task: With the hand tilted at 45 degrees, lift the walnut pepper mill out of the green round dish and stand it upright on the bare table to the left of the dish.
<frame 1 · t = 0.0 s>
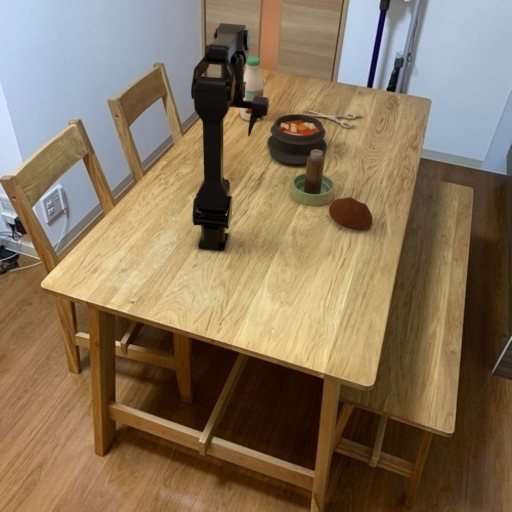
hand: (232, 133, 142), 15 cm above the table, tool pointing down, fingers open, 9 cm apart
potato: (348, 225, 137), on the table
green round dish: (311, 195, 146), on the table
casserole: (296, 149, 166), on the table
scissors: (329, 118, 184), on the table
pepper mill: (311, 194, 146), point 1 cm above the table, touching green round dish
milk bottle: (251, 117, 183), on the table
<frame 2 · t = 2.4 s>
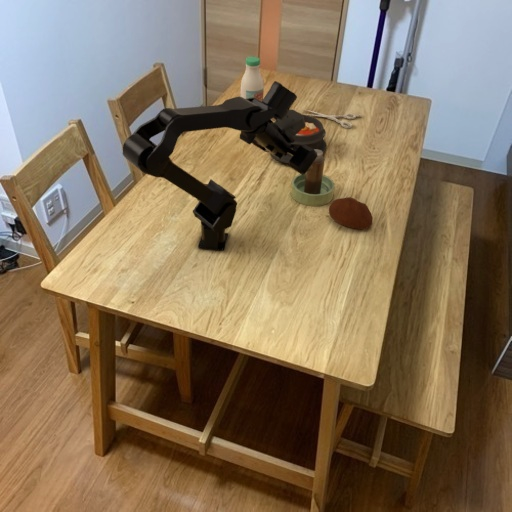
hand: (298, 161, 135), 13 cm above the table, tool tilted 45°, fingers open, 9 cm apart
nothing on the table moved.
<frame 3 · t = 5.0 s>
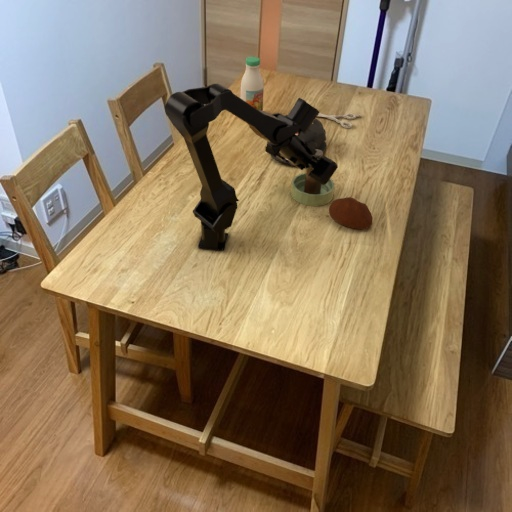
hand: (318, 171, 142), 7 cm above the table, tool tilted 45°, fingers closed on pepper mill, 4 cm apart
pepper mill: (311, 194, 146), point 1 cm above the table, touching green round dish, gripper
everything else where it was.
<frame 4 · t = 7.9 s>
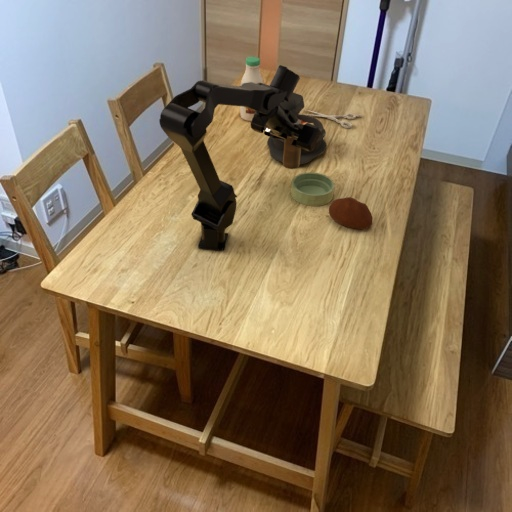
hand: (295, 141, 142), 13 cm above the table, tool tilted 45°, fingers closed on pepper mill, 4 cm apart
pepper mill: (291, 164, 146), point 7 cm above the table, touching gripper
everything else where it was.
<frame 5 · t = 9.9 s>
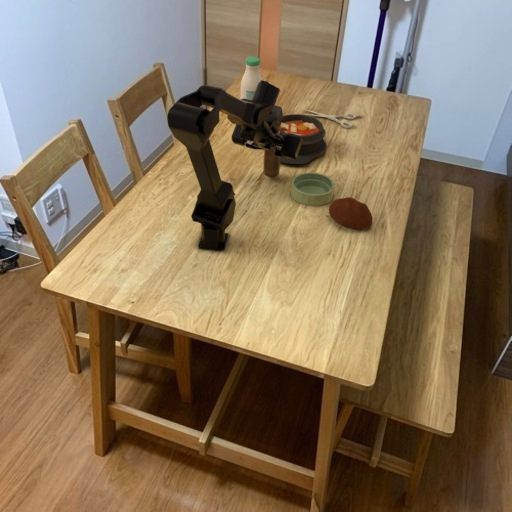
hand: (274, 150, 147), 9 cm above the table, tool tilted 45°, fingers closed on pepper mill, 4 cm apart
pepper mill: (271, 173, 151), point 2 cm above the table, touching gripper
everything else where it was.
when the fingers open (7 cm above the table, at t = 11.0 s): pepper mill stays where it is, on the table.
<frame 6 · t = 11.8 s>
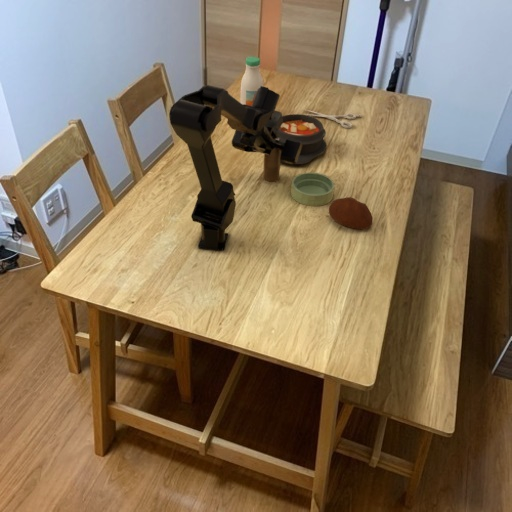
hand: (274, 154, 148), 7 cm above the table, tool tilted 45°, fingers open, 9 cm apart
pepper mill: (271, 179, 152), on the table
everything else where it was.
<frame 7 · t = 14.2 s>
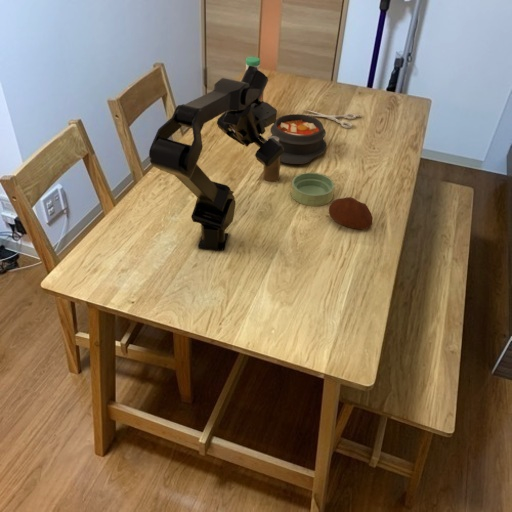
hand: (256, 153, 138), 13 cm above the table, tool tilted 30°, fingers open, 9 cm apart
nothing on the table moved.
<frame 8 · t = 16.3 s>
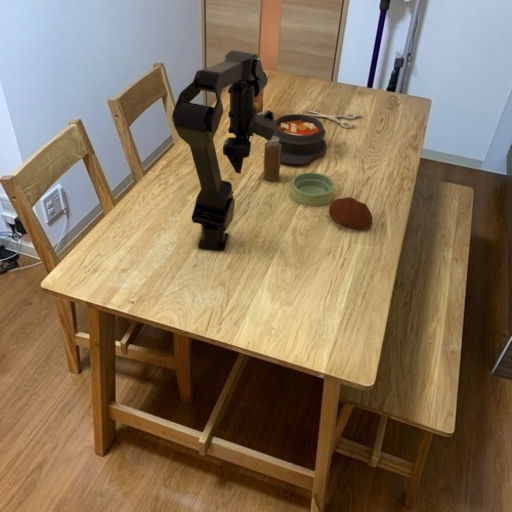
hand: (241, 163, 135), 12 cm above the table, tool pointing down, fingers open, 9 cm apart
nothing on the table moved.
at the end: pepper mill inside the target area (0.0 cm from its centre), on the table; pepper mill tilted 0°; pepper mill touching table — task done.
